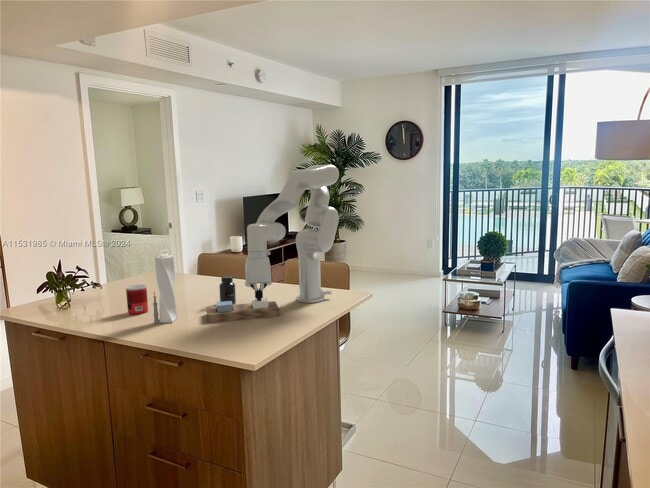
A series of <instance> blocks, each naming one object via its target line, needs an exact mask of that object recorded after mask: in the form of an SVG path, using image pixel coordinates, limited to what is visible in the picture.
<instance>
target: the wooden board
mask: <svg viewBox="0 0 650 488" xmlns="http://www.w3.org/2000/svg"><path fill="white" fill-rule="evenodd" d="M280 315H281V314H280V307H279V305H278V304H277V301H268V308H262V309H253V308H252V302H249V303H239V304H238V303H237V304H233V311H227V312H217V305H215V306H207V307H206V324H207V323H217V322H218V323H220V322H229V321H241V320H242V321H243V320H252V319H261V318H262V319H263V318H264V319H265V318H271V317H272V318H273V317H280Z"/></svg>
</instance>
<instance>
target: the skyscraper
mask: <svg viewBox="0 0 650 488" xmlns="http://www.w3.org/2000/svg"><path fill="white" fill-rule="evenodd" d="M166 251H167V253H165V254H164V253H163V254H160V253H162V252H166ZM169 252H170V249H162V250H159V251H158V252H156V254H155V256H154V270H155V278H156V285H157V288H158V291H159V292H158V293H159V310H158V302H157V297H156V292H155V291H154V292H153V303H152V305H153V314H152V315H153V325H169V324H170V325H171V324H173V323H174V322H175V321H176V320H177V319H178V312H177V311H178V310H177V304H176V298H175V297H176V296H175V292H174V287H175V278H176V277H175V276H176V266H175V255H173V254H169ZM159 254H160V255H159ZM158 255H159V256H158ZM158 311H159V312H158Z"/></svg>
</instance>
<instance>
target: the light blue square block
mask: <svg viewBox="0 0 650 488" xmlns="http://www.w3.org/2000/svg"><path fill="white" fill-rule="evenodd" d="M233 305H234V304H232V301H224V302H220V301H216V306H217V312H227V311H233Z"/></svg>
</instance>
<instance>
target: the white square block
mask: <svg viewBox="0 0 650 488" xmlns="http://www.w3.org/2000/svg"><path fill="white" fill-rule="evenodd" d="M268 302H269V300H268V298H267V297H264V296H263V298H261V301H260V300H259V301H257V298H255V297H254V298H251V303H252V308H253V309H262V308H268Z"/></svg>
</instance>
